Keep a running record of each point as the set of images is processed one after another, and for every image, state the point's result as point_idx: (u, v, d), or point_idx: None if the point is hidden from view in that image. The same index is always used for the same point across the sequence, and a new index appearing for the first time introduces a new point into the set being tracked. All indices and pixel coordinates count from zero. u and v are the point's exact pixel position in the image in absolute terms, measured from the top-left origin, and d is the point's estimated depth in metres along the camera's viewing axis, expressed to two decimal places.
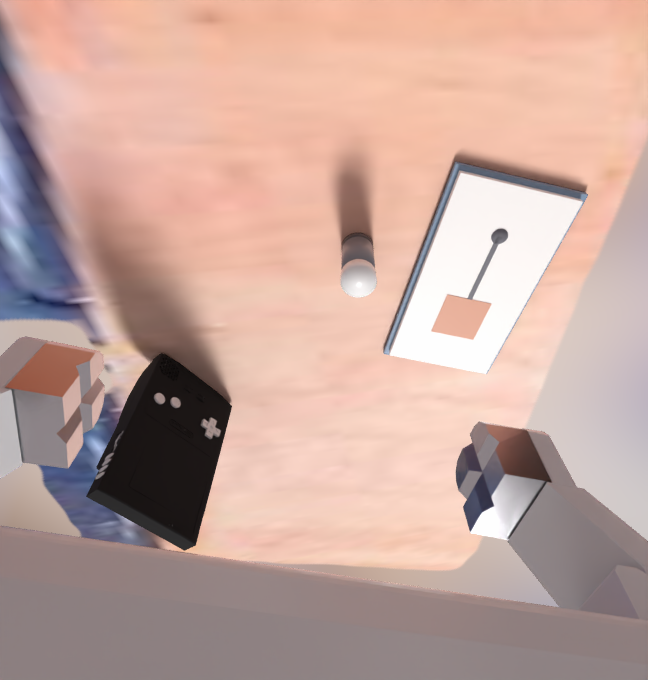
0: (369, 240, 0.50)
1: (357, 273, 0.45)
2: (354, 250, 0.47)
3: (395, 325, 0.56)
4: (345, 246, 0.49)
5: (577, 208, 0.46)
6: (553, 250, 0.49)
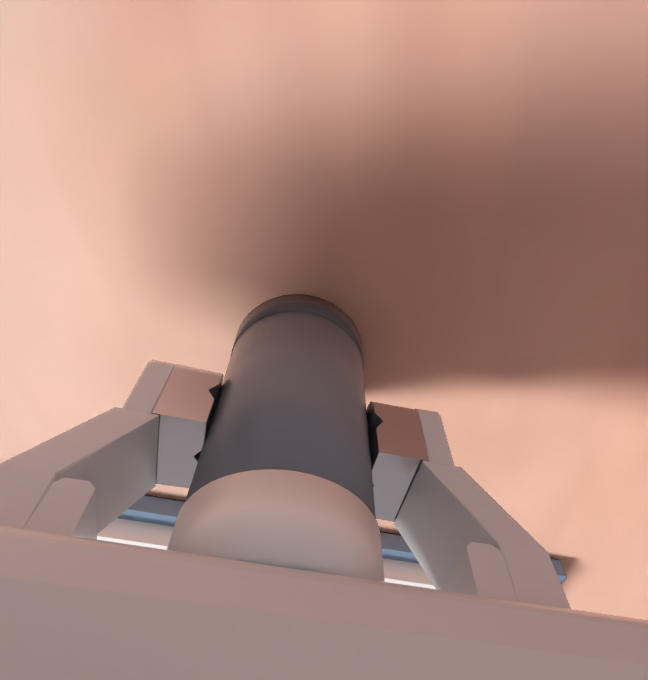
0: None
1: None
2: (369, 446, 0.09)
3: None
4: (338, 349, 0.10)
5: None
6: None
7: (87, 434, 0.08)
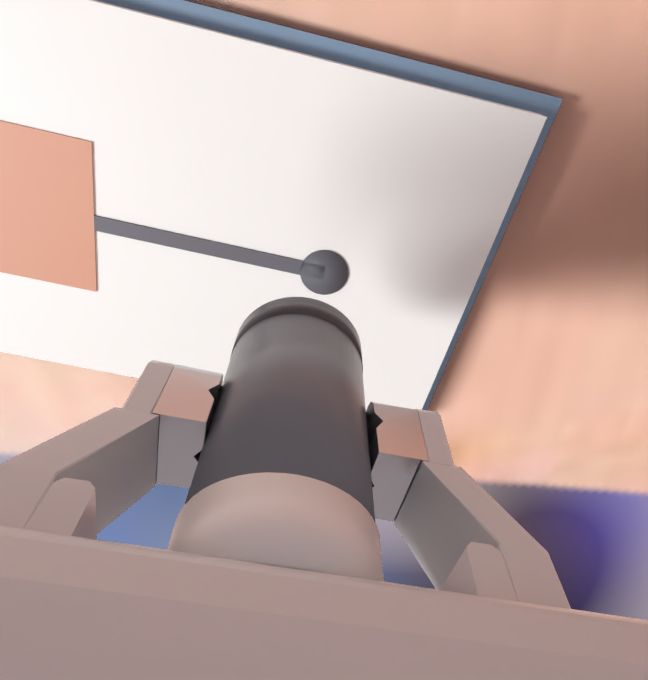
0: None
1: None
2: (368, 448, 0.09)
3: None
4: (337, 351, 0.10)
5: None
6: None
7: (87, 434, 0.08)
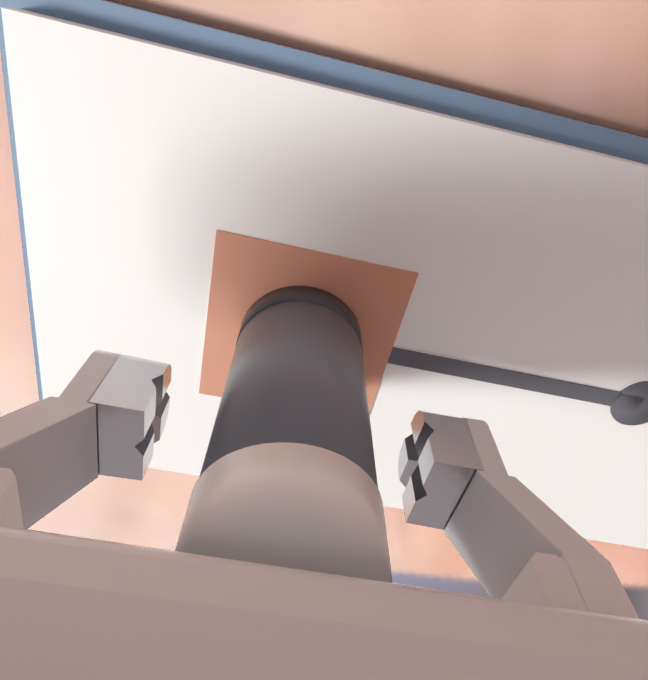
0: None
1: None
2: (370, 425, 0.10)
3: (208, 33, 0.10)
4: (339, 336, 0.11)
5: None
6: None
7: (16, 422, 0.08)
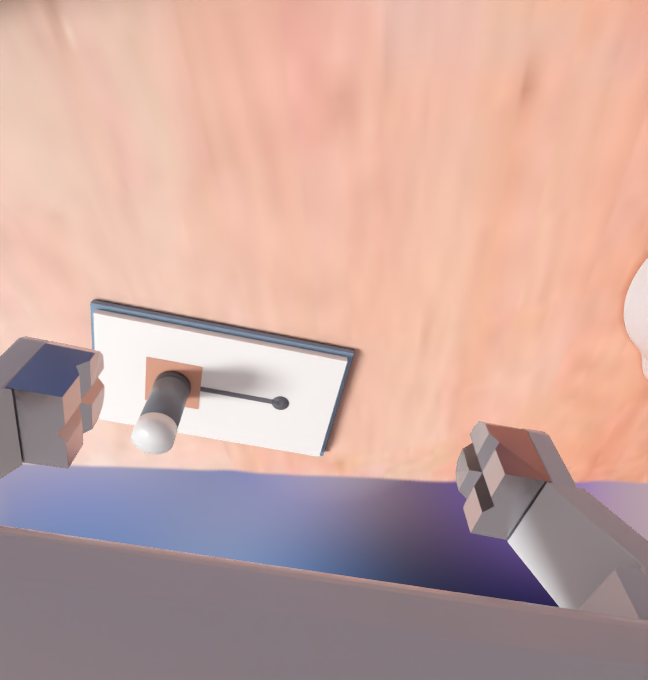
0: None
1: (164, 438, 0.39)
2: (181, 410, 0.42)
3: (141, 313, 0.42)
4: (178, 387, 0.43)
5: (312, 454, 0.50)
6: (268, 446, 0.49)
7: None
